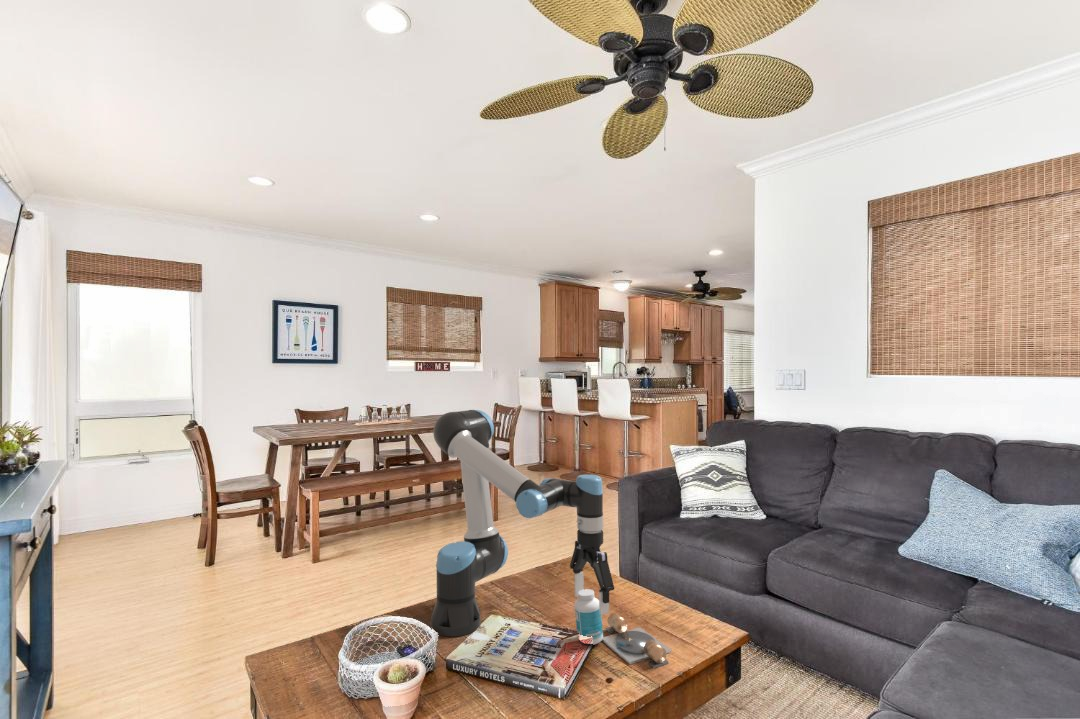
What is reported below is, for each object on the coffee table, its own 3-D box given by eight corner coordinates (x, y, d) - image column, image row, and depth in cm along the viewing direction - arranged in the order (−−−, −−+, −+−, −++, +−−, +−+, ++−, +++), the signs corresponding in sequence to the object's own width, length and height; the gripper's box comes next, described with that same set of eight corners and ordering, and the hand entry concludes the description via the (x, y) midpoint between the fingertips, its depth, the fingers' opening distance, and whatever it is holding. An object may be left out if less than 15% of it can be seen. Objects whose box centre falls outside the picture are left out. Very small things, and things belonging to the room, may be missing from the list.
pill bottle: (608, 637, 150) (604, 590, 150) (593, 649, 144) (588, 600, 145) (588, 630, 155) (583, 584, 155) (572, 641, 150) (568, 594, 150)
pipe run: (593, 633, 154) (593, 617, 154) (631, 623, 160) (631, 608, 160) (639, 672, 134) (639, 654, 134) (681, 659, 140) (681, 642, 140)
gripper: (558, 520, 160) (559, 590, 159) (602, 543, 138) (604, 625, 137) (579, 517, 163) (580, 586, 163) (626, 539, 141) (627, 619, 140)
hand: (591, 604), depth 150 cm, fingers open, 13 cm apart
